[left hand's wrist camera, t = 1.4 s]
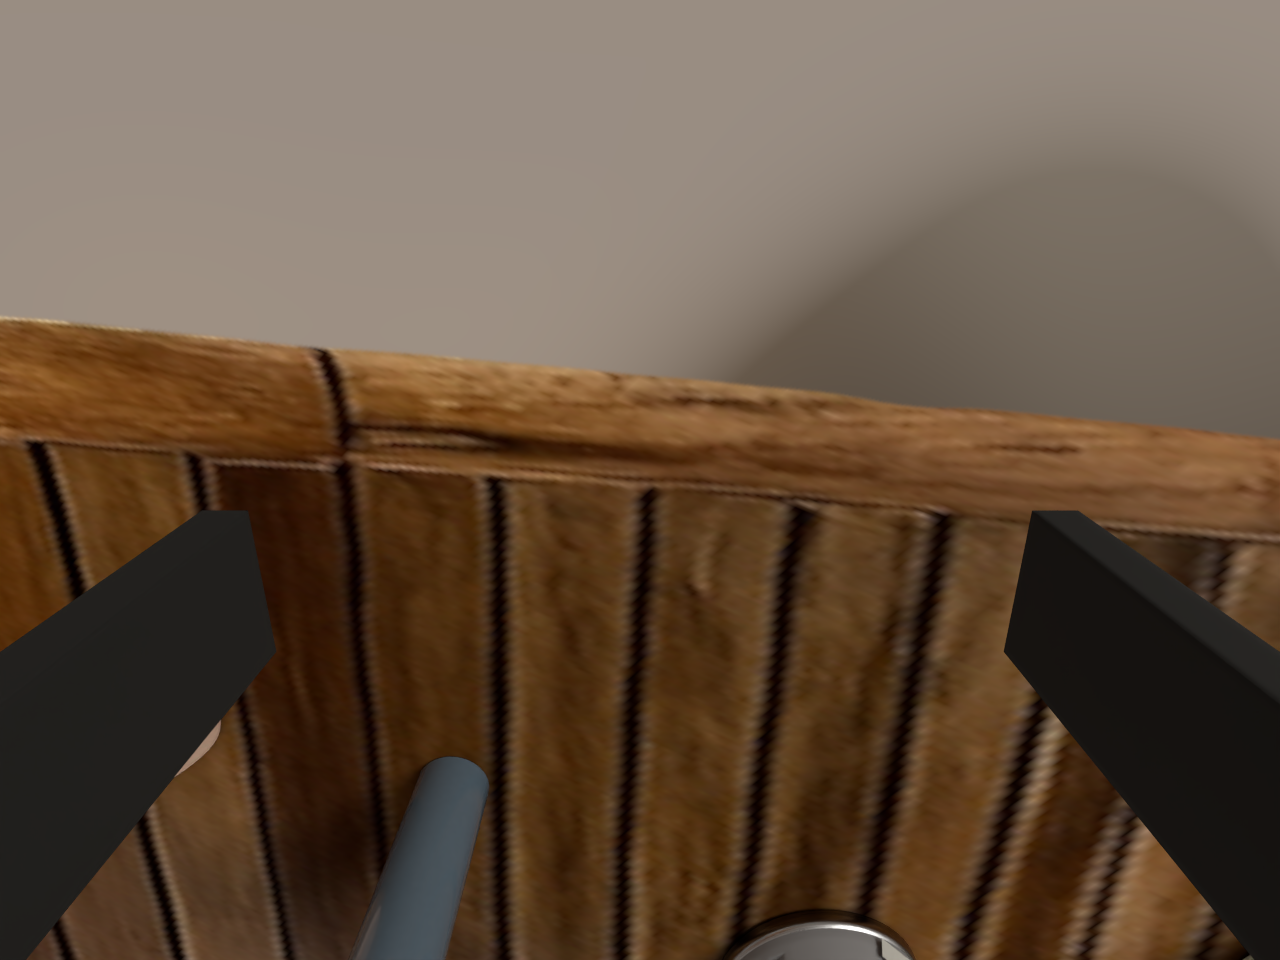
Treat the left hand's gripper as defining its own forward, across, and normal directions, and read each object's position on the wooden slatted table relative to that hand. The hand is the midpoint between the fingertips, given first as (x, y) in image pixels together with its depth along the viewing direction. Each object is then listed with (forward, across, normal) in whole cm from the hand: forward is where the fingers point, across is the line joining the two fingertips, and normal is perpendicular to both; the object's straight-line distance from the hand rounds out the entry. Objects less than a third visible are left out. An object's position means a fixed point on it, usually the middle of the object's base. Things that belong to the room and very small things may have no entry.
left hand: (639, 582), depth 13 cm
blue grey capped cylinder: (+28, +12, +30) cm, 43 cm away
